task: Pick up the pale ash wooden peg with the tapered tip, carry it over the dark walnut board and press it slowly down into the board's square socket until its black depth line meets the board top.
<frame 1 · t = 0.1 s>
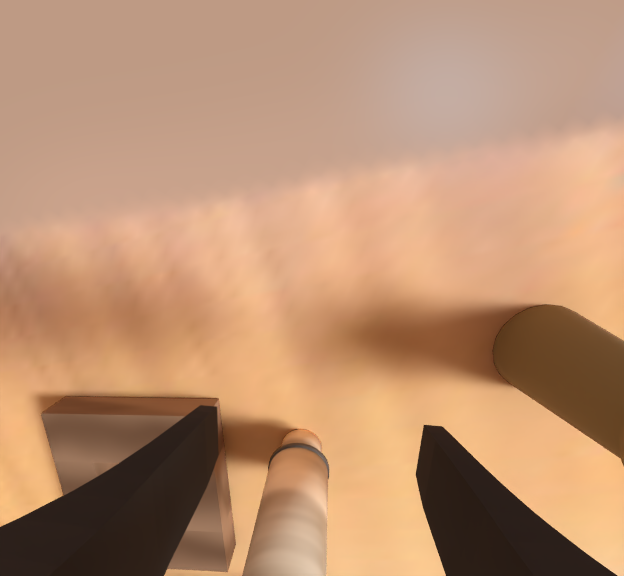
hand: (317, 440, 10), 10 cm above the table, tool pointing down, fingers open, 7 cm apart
ash peg: (301, 446, 22), on the table
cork: (539, 347, 20), on the table
walnut board: (155, 474, 24), on the table
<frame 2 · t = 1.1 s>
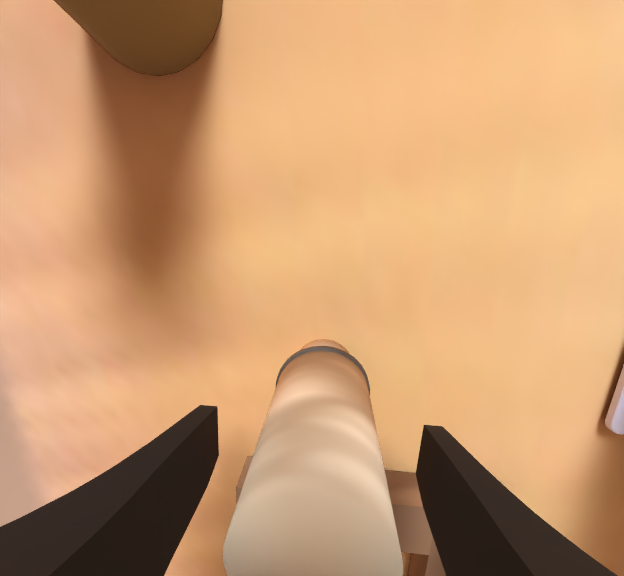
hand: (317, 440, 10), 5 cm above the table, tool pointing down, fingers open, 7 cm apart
ash peg: (323, 366, 15), on the table
walnut board: (361, 550, 18), on the table
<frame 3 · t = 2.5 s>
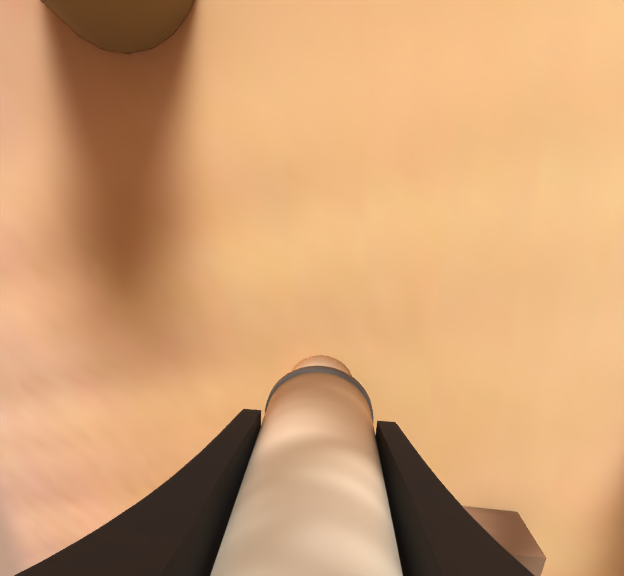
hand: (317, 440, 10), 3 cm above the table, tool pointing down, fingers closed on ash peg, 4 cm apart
ash peg: (320, 385, 14), on the table, touching gripper
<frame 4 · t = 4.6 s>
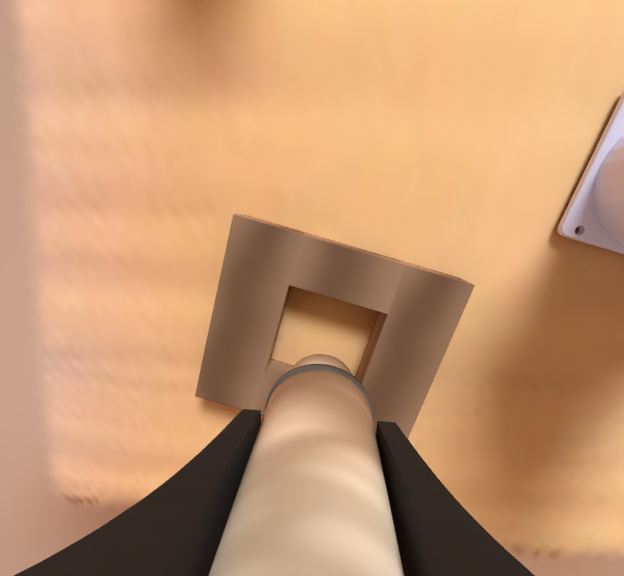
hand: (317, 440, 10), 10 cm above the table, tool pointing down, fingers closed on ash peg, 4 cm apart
ash peg: (320, 384, 14), point 6 cm above the table, touching gripper
walnut board: (324, 332, 20), on the table
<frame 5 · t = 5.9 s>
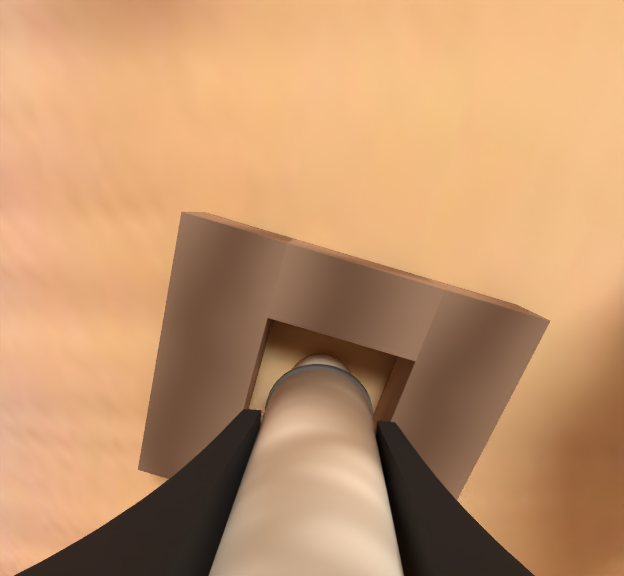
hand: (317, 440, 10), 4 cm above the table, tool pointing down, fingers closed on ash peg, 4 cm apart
ash peg: (320, 384, 14), point 1 cm above the table, touching gripper
walnut board: (321, 378, 14), on the table
when the fingers open (4 cm above the table, at t = 6.8 s): ash peg stays where it is, resting in walnut board.
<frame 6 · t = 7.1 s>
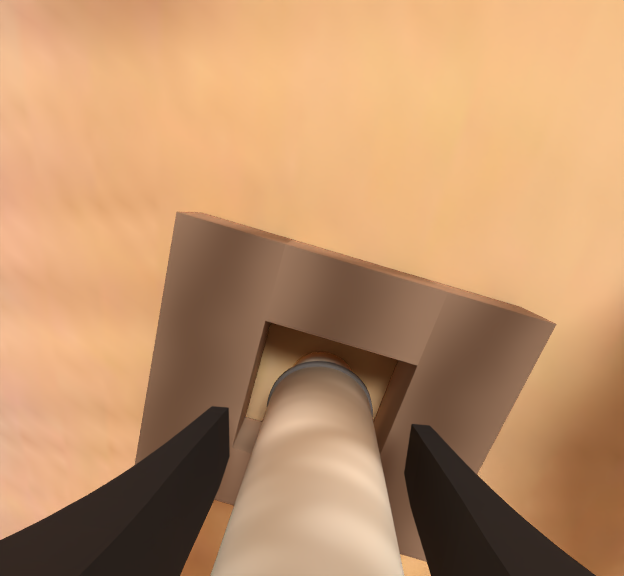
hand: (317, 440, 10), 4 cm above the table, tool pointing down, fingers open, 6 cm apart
ash peg: (321, 381, 14), resting in walnut board
walnut board: (320, 382, 14), on the table
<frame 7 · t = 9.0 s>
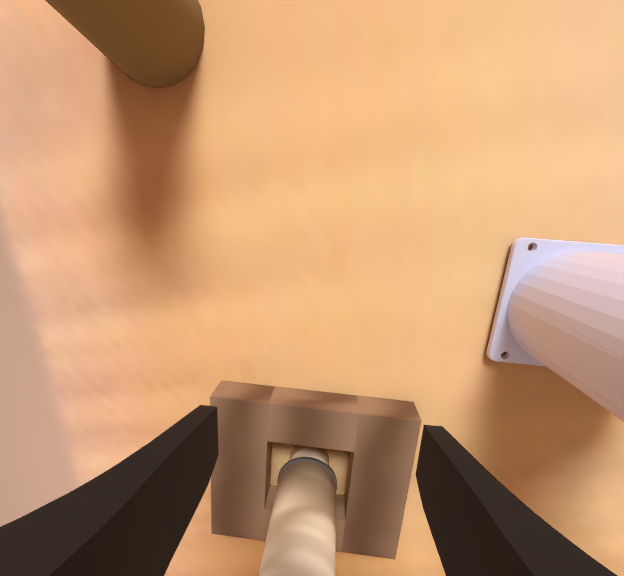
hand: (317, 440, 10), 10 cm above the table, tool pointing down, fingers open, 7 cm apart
ash peg: (309, 458, 23), resting in walnut board
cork: (155, 29, 17), on the table
walnut board: (309, 459, 23), on the table
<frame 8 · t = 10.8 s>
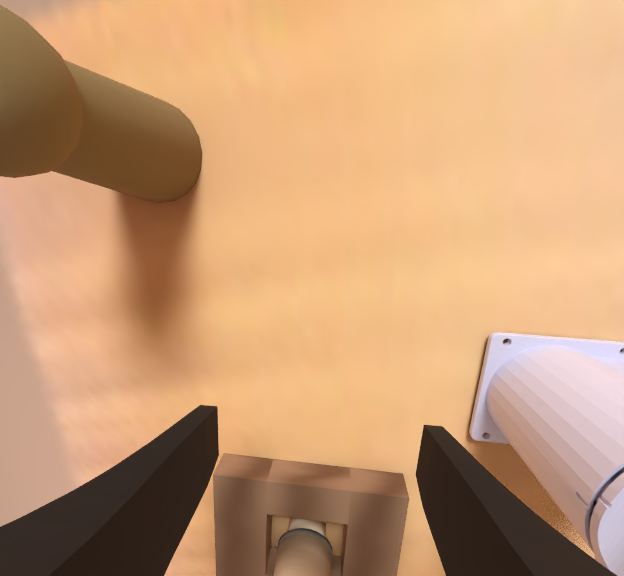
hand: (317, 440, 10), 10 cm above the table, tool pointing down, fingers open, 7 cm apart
ash peg: (307, 523, 24), resting in walnut board
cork: (157, 153, 19), on the table
walnut board: (307, 524, 24), on the table
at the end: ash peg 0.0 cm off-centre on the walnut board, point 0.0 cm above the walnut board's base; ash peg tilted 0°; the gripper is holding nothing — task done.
